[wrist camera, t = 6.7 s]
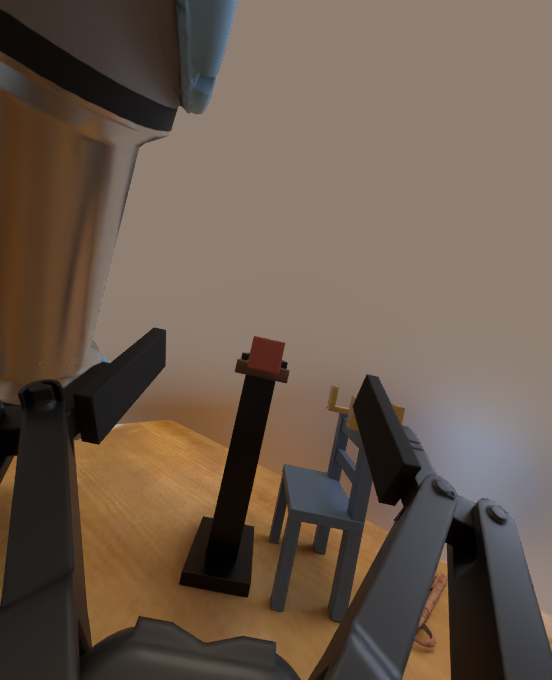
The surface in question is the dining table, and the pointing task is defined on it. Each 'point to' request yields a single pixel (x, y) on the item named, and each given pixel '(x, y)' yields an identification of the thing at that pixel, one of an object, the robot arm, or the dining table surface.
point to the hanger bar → (266, 355)
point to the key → (428, 607)
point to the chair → (325, 510)
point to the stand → (234, 494)
